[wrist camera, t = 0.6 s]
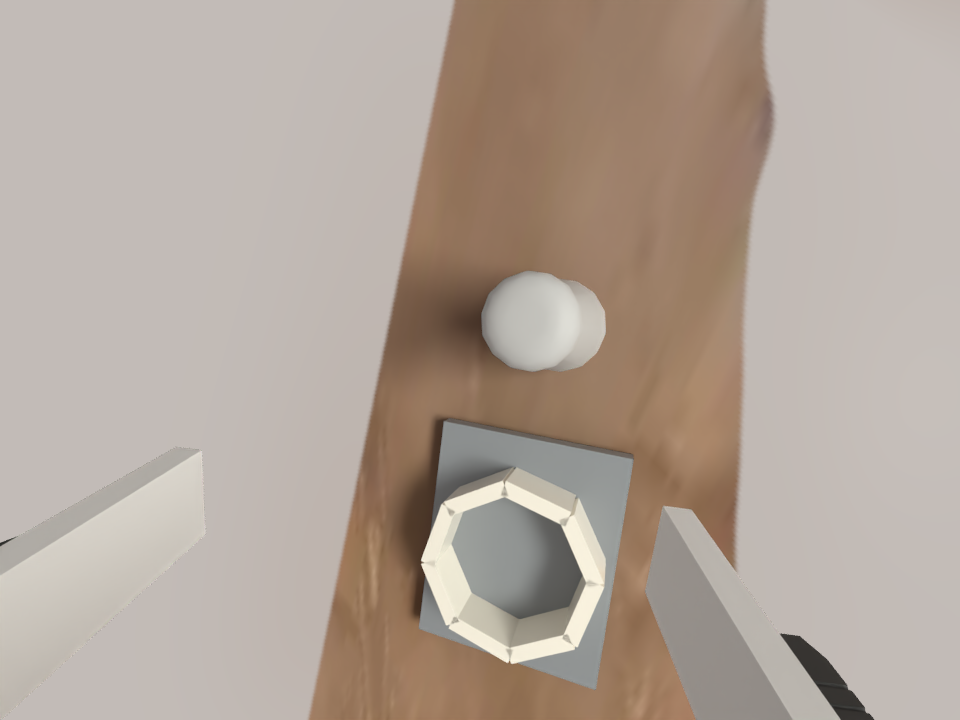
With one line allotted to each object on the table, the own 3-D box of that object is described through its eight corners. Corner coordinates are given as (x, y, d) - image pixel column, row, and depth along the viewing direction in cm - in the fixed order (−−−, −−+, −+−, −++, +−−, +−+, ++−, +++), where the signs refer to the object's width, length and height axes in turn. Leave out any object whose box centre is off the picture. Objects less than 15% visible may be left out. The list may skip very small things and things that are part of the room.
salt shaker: (558, 385, 31) (518, 421, 19) (504, 323, 32) (431, 318, 20) (626, 327, 30) (631, 324, 17) (566, 264, 30) (531, 218, 18)
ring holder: (558, 450, 30) (551, 462, 27) (627, 607, 29) (627, 637, 27) (420, 501, 33) (401, 517, 30) (479, 644, 33) (466, 674, 30)
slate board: (450, 418, 34) (443, 421, 32) (633, 454, 30) (633, 459, 29) (425, 619, 35) (418, 628, 34) (596, 677, 31) (595, 690, 30)
